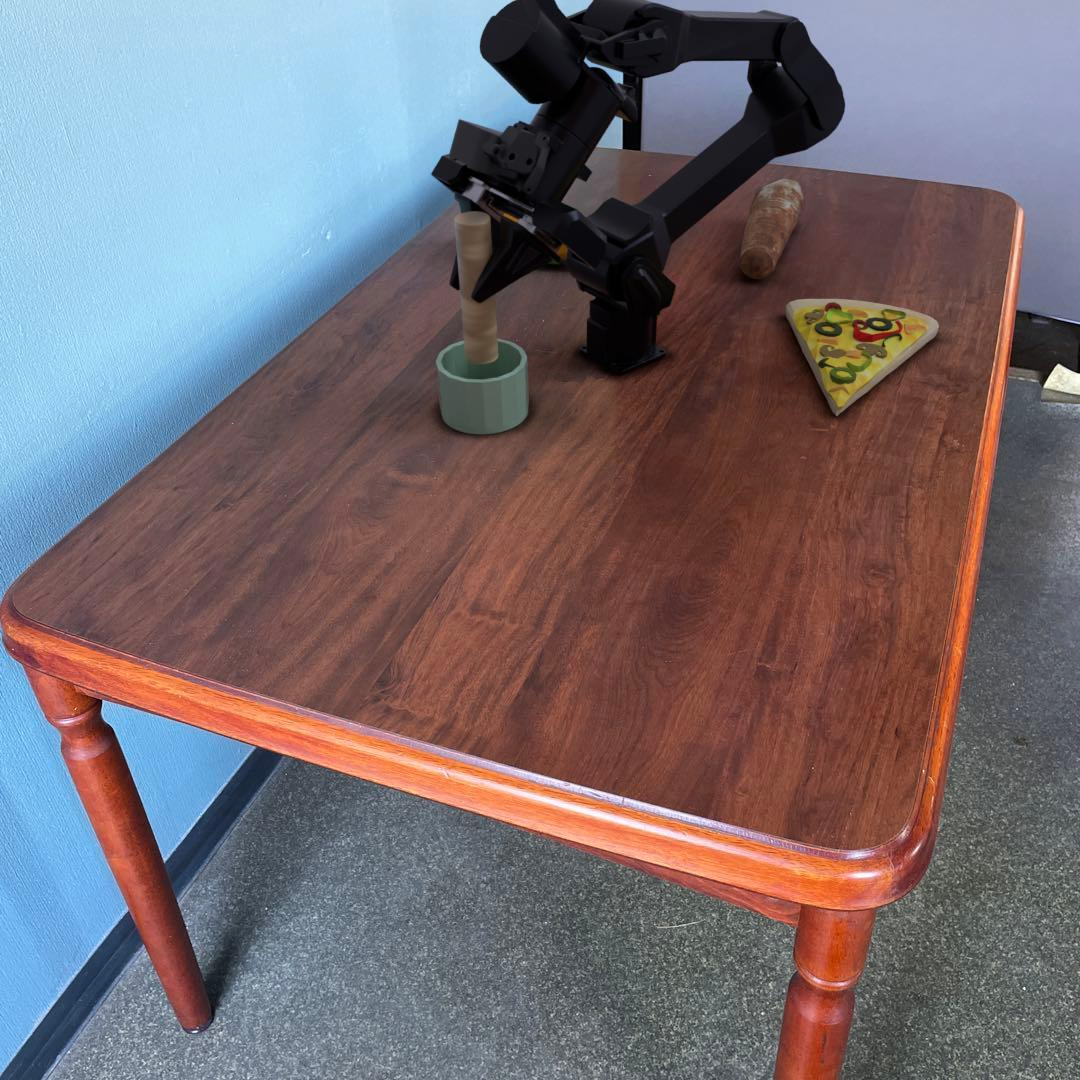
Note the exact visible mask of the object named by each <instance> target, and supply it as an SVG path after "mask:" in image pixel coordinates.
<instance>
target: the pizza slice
mask: <svg viewBox="0 0 1080 1080" xmlns="http://www.w3.org/2000/svg"><path fill="white" fill-rule="evenodd" d="M785 318H786V319H787V321H788V323H789V325H790V327H791V329H792V331H793V333H794V336H795V338H796V340H797V342H798V345H799V346H800V349H801V352H802V354H803V355H804V357H805V359H806V361H807V362H808V365H809V367H810V368H811V371H812V373H813V376H814V377H815V379H816V381H817V384H818V386H819V387H820V389H821V392H822V394H823V395H824V397H825V399H826V401H827V403H828V406H829V408H830V410H831V412H832V413H833V414H834V415H835V416H836V417H838V416H839V415H840V414H841V413H843V412H844V411H845V410H847V408H849V407H850V406H851V405H852V404H853V403H855V402H856V401H857V400H858V399H860V398H861V397H863V396H864V395H865V394H866V393H868V392H869V391H870V390H871V389H872V388H874V387H875V386H876V385H878V383H880V382H881V381H882V380H884V378H886V377H887V376H888V375H890V374H891V373H892V372H893V371H895V370H896V369H897V368H898V367H900V366H901V365H902V364H904V363H905V362H906V361H907V360H908V359H909V358H911V357H912V356H913V355H914V354H915V353H916V352H918V351H920V349H922V348H923V347H924V346H925V345H926V344H928V343H929V342H930V341H932V340H933V339H934V338H936V336H937V334H938V332H939V327H940V324H939V322H938V320H936V319H935V318H933V317H932V316H929V315H927V314H925V313H921V312H919V311H915V310H912V309H908V308H903V307H899V306H894V305H889V304H884V303H878V302H871V301H864V300H856V299H844V298H803V299H795V300H792V301H789V302H788V303H787V304H786V305H785Z"/></svg>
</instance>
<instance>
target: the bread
mask: <svg viewBox="0 0 1080 1080" xmlns="http://www.w3.org/2000/svg"><path fill="white" fill-rule="evenodd" d="M805 205H806V200H805V196H804V193H803V190H802V186H801V184H800V183H799V182H798V180H794V179H789V178H783V177H782V178H779V179H777V180H775V181H772V182H770V183H769V184H766V185H764V186H761V187H759V188H758V189H757V190H756V192H755V193H754V196H753V198H752V200H751V203H750V207H749V211H748V216H747V220H746V221H747V222H746V223H745V229H744V233H743V238H742V243H741V250H740V256H739V261H738V266H739V269H740V271H741V272H742V273H743V274H744V275H746V277H748V278H750V279H753V280H763V279H766V278H768V277H770V276H771V275H772V274H773V272H774V270H775V269H776V266H777V263H778V261H779V259H780V258H781V257H782V255H783V251H784V249H785V247H786V245H787V244H788V242H789V240H790V237H791V235H792V233H793V230H794V229H795V228H796V225H797V223H798V221H799V219H800V217H801V216H802V213H803V211H804V209H805Z"/></svg>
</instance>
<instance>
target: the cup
mask: <svg viewBox="0 0 1080 1080" xmlns="http://www.w3.org/2000/svg"><path fill="white" fill-rule="evenodd" d="M497 341H498V358H497V359H496V360H495V361H493V362H491V363H488V364H473V363H470V362H468V361H467V360H466V358H465V347H464V339H462V340H460V341H458V342H454V343H451V344H449V345H447V346H446V347H445V348H444V349H442V350H441V351H440V352H439V353H438V356H437V357H436V360H435V371H436V381H437V392H438V404H439V410H440V415H441V418H442V420H443V422H444V423H445V424H446V425H447V426H448V427H450V428H451V429H453V430H455V431H458V432H461V433H465V434H471V435H492V434H493V435H494V434H499V433H502V432H506V431H509V430H511V429H514V428H516V427H517V426H519V425H520V424H522V423H523V422H524V420H525V419H526V418H527V416H528V414H529V404H530V396H529V392H530V391H529V368H528V367H529V366H528V363H529V362H528V356H527V354H526V351H525V350H524V348H523V347H521V346H520V345H517V344H516V343H514V342H513V341H510V340H505V339H502V338H498V337H497Z"/></svg>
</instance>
